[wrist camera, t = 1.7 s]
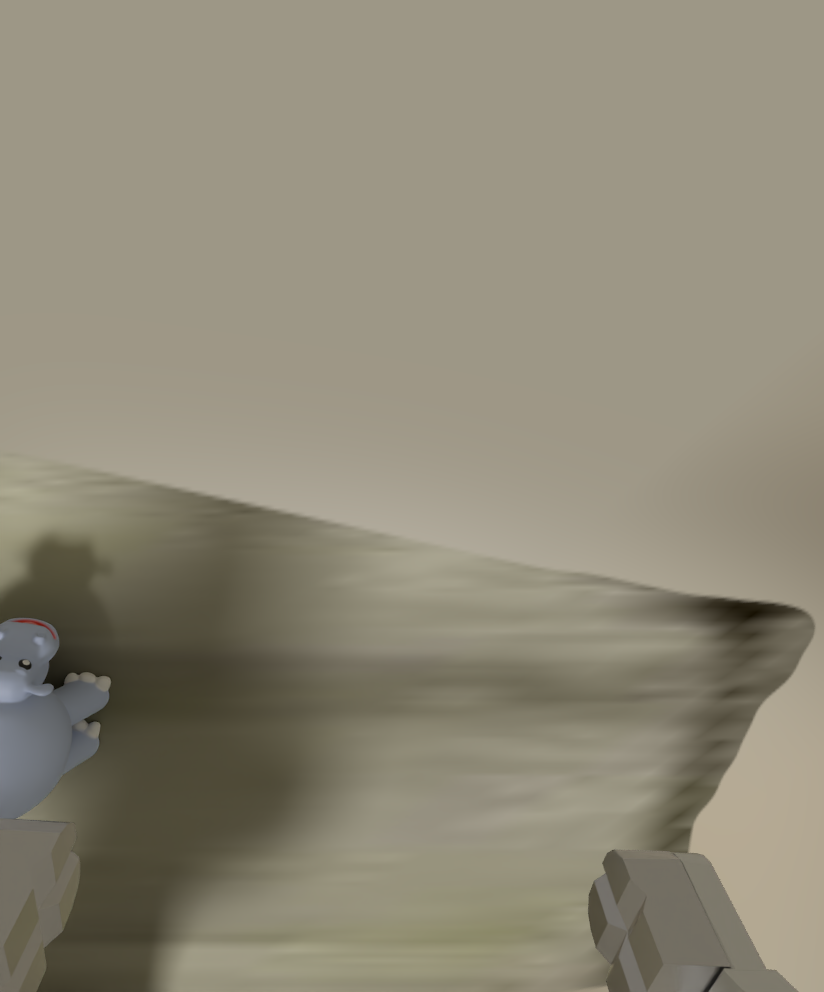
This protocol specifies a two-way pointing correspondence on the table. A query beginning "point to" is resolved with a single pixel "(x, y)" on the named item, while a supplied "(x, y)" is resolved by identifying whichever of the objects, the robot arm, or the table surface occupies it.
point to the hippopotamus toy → (41, 716)
